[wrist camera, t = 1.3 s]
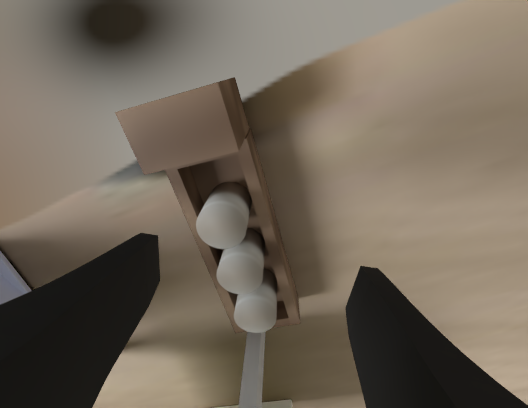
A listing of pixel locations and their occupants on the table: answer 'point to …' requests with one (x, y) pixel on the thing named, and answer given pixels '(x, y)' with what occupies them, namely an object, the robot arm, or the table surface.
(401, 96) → the table surface
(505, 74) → the table surface
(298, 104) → the table surface
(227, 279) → the wooden slotted rack
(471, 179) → the table surface
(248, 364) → the green top stool
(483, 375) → the robot arm
